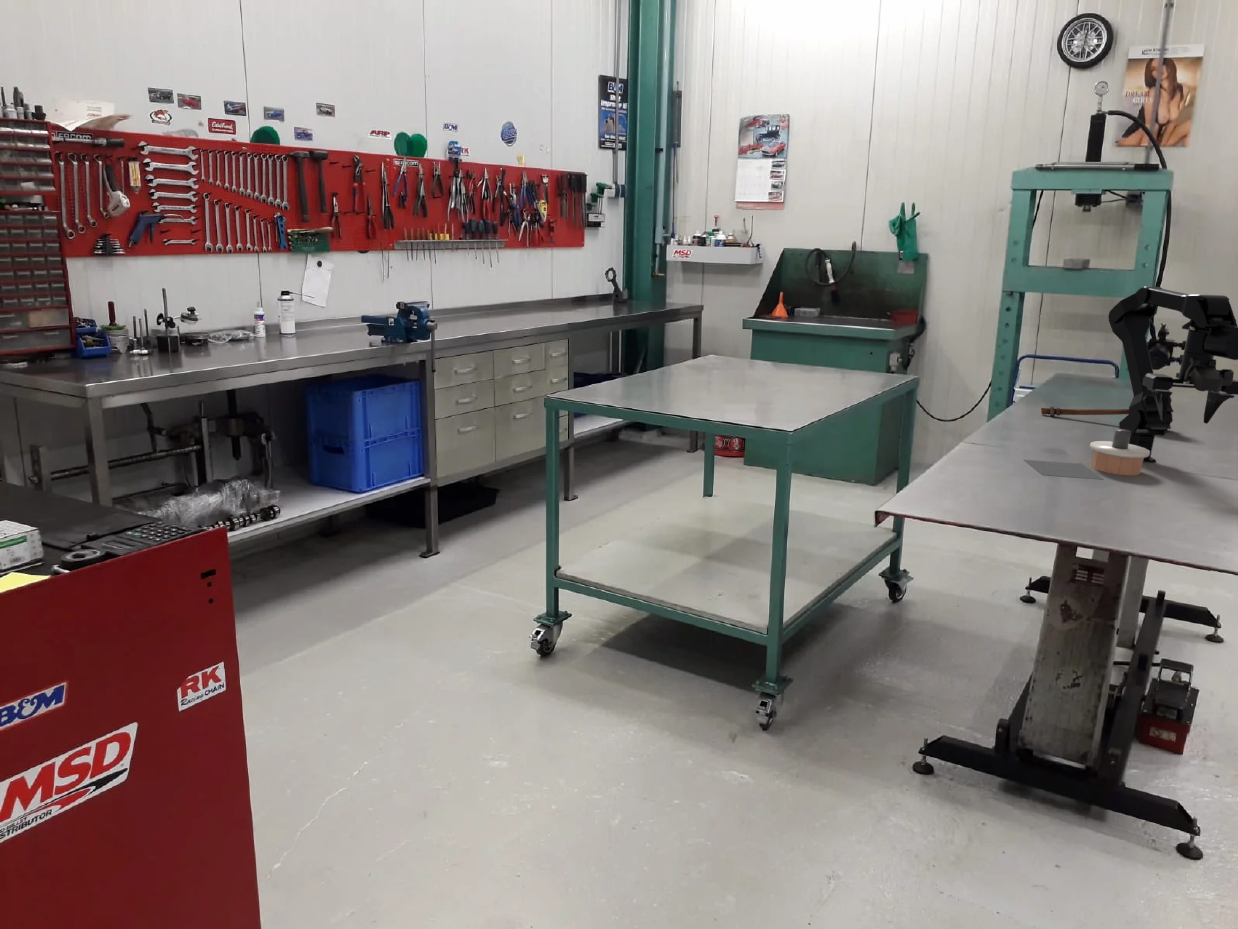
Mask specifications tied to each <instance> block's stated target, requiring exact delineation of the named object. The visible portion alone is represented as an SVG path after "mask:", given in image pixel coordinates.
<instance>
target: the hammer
mask: <svg viewBox="0 0 1238 929" xmlns="http://www.w3.org/2000/svg"><path fill="white" fill-rule="evenodd" d="M1169 391H1170V392H1171V390H1170V389H1169ZM1169 398H1170V402H1171V403H1172V401H1173V399H1172V397H1171V396H1170V397H1169ZM1040 411H1041V415H1049V416H1050V417H1055V415H1056V416H1058V417H1060V416H1062V415H1065V416H1078V415H1079V416H1099V415H1100V416H1101V415H1102V416H1103V415H1104V416H1105V415H1106V416H1108V415H1111V416H1112V415H1115V416H1117V415H1129V408H1125V409H1124V408H1122V409H1120V408H1119V409H1118V408H1117V409H1116V408H1114V409H1113V408H1112V409H1109V408H1108V409H1104V408H1103V409H1101V408H1099V409H1095V408H1094V409H1081V408H1080V409H1079V408H1078V409H1077V408H1076V409H1074V408H1061V407H1056V408H1055V406H1050V407H1049V408H1047V407H1041V408H1040ZM1173 421H1174V418H1172V421H1171V423H1173ZM1171 429H1172V426H1171V424H1170V425H1169V427H1168V429H1167V430H1171Z"/></svg>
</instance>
